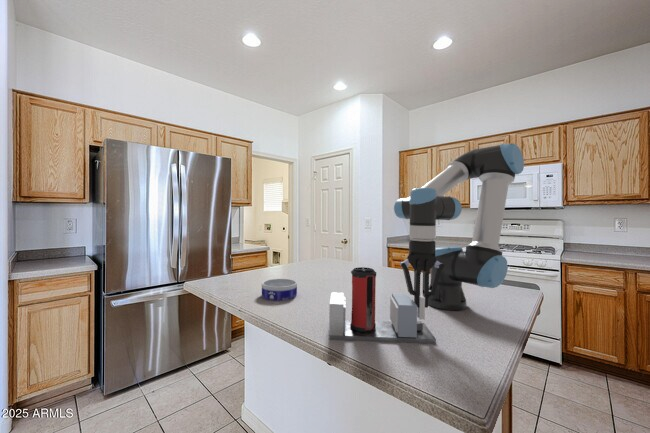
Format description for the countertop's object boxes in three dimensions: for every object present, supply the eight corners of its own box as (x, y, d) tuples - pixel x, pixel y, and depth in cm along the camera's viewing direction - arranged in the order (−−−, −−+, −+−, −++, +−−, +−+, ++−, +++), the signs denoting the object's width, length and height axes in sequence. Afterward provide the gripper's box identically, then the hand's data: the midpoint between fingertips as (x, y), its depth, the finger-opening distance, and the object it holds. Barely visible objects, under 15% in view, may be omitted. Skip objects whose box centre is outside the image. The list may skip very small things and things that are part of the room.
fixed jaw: (345, 320, 93) (345, 292, 93) (345, 335, 81) (345, 304, 81) (331, 319, 94) (331, 292, 94) (329, 335, 82) (329, 303, 82)
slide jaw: (416, 321, 92) (417, 293, 92) (427, 337, 80) (428, 306, 80) (389, 320, 92) (390, 293, 92) (396, 336, 80) (396, 305, 80)
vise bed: (424, 326, 92) (424, 322, 92) (436, 343, 80) (436, 339, 80) (331, 323, 94) (331, 319, 94) (329, 339, 82) (329, 335, 82)
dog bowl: (301, 292, 130) (301, 279, 130) (289, 302, 115) (289, 288, 115) (270, 290, 134) (270, 277, 133) (255, 299, 119) (255, 285, 119)
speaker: (349, 322, 91) (350, 266, 91) (373, 323, 91) (374, 267, 91) (350, 332, 84) (351, 271, 84) (377, 333, 83) (377, 271, 83)
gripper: (440, 238, 89) (438, 314, 89) (397, 238, 90) (396, 312, 90) (449, 241, 81) (447, 323, 82) (402, 240, 82) (401, 321, 82)
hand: (420, 317), depth 86 cm, fingers closed
